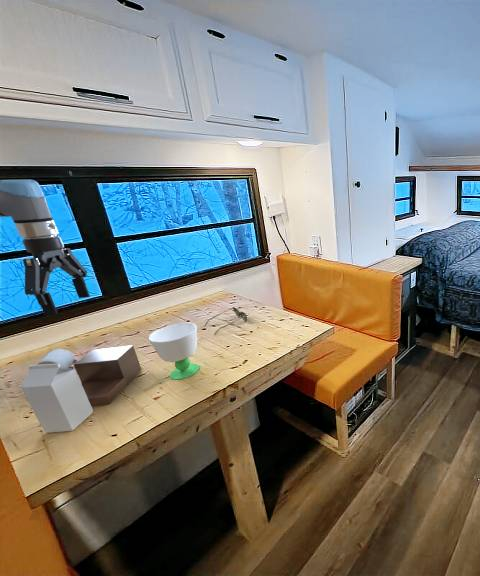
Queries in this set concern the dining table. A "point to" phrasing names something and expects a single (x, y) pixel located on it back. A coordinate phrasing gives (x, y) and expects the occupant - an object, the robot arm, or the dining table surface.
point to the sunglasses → (236, 314)
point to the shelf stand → (107, 372)
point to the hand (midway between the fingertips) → (69, 305)
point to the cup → (177, 347)
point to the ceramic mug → (59, 358)
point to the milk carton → (56, 397)
